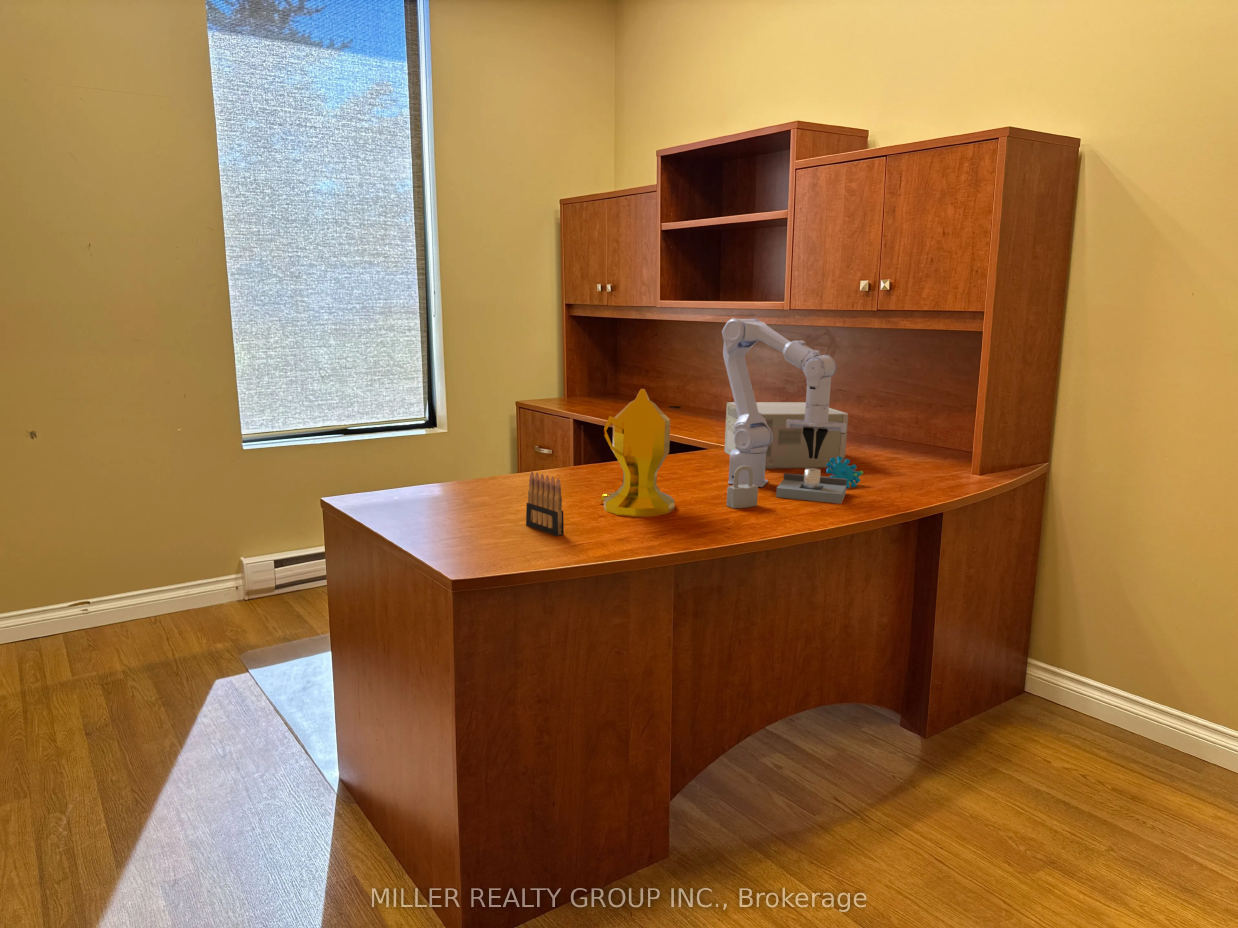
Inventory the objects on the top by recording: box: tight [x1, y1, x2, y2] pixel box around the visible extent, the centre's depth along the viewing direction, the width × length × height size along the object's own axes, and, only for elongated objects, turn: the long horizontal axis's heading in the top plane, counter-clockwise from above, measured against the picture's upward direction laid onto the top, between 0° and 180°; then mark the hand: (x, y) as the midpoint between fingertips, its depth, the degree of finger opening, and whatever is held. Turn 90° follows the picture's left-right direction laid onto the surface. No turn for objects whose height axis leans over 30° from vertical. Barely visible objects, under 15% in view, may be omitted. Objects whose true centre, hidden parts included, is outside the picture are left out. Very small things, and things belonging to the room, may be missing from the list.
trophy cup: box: [598, 388, 676, 518], centre depth 198 cm, size 18×24×28 cm
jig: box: [775, 472, 847, 505], centre depth 217 cm, size 16×12×4 cm
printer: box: [723, 401, 849, 470], centre depth 263 cm, size 27×29×16 cm
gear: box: [826, 456, 864, 490], centre depth 231 cm, size 11×6×10 cm
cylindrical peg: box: [803, 468, 822, 490], centre depth 216 cm, size 4×4×7 cm
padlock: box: [726, 465, 759, 509], centre depth 204 cm, size 7×4×10 cm, turn 118°
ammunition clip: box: [525, 470, 565, 537], centre depth 179 cm, size 11×2×12 cm, turn 43°
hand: (813, 457), depth 215 cm, fingers closed
